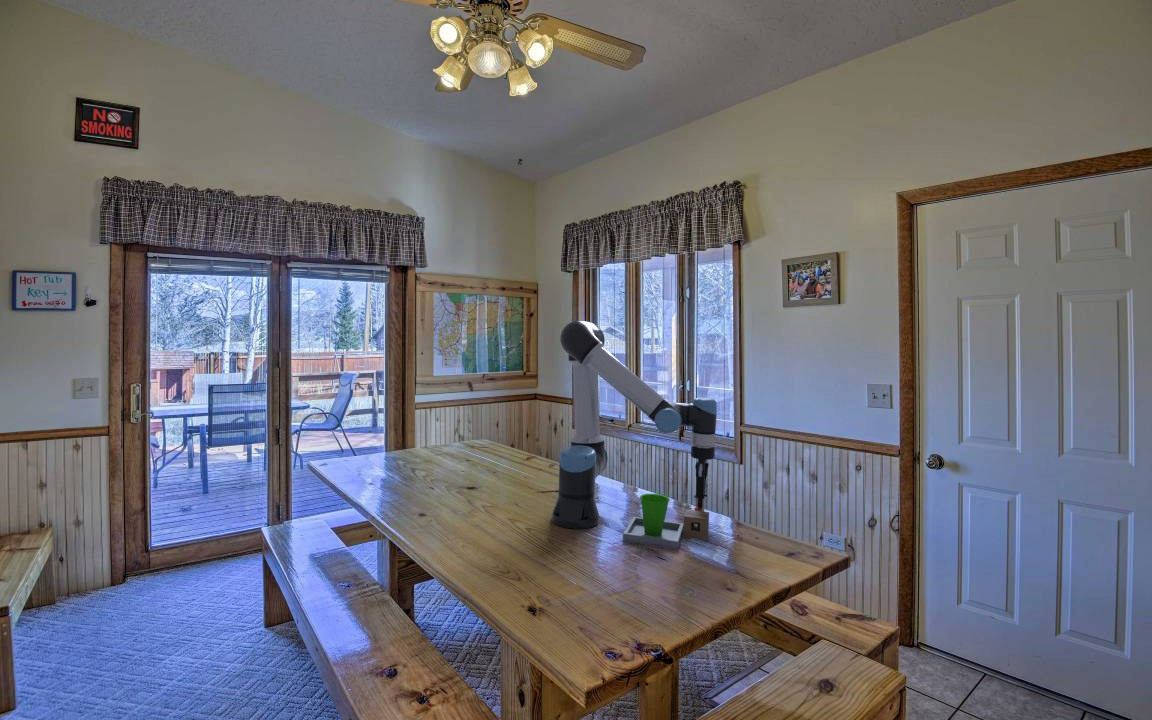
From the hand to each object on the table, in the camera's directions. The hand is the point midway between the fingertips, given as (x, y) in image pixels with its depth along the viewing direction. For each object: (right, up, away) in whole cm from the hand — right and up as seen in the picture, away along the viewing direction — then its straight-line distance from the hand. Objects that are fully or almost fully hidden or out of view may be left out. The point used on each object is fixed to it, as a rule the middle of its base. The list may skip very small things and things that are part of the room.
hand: (699, 516), depth 178 cm
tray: (-17, -2, -13) cm, 21 cm away
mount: (-4, -2, -10) cm, 11 cm away
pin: (-3, -1, -8) cm, 9 cm away
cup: (-17, -2, -13) cm, 21 cm away
